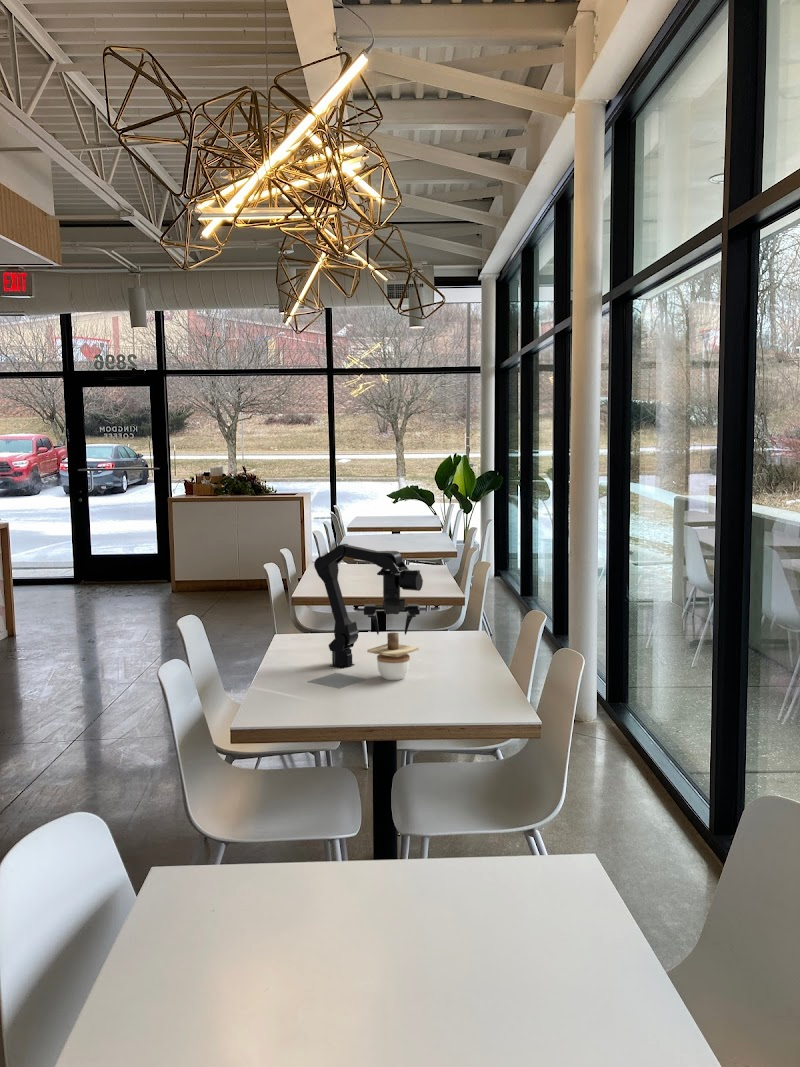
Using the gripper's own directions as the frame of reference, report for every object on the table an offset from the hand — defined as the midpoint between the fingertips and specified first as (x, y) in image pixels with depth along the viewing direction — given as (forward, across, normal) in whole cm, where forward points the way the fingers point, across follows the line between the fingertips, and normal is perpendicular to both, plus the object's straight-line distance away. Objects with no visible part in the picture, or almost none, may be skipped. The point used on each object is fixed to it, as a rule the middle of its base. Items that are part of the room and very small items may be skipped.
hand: (391, 634), depth 301 cm
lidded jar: (+13, 0, -10) cm, 16 cm away
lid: (+3, 0, -10) cm, 10 cm away
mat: (+13, -18, -12) cm, 25 cm away
